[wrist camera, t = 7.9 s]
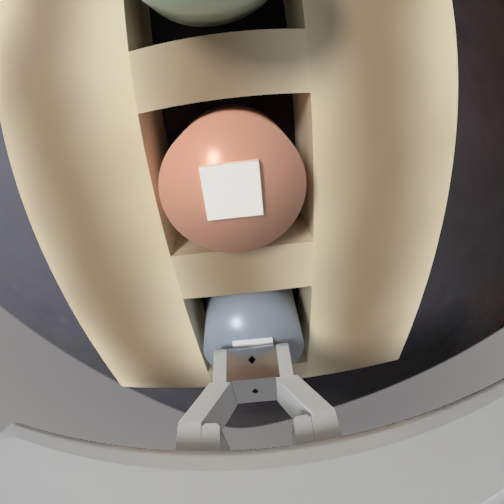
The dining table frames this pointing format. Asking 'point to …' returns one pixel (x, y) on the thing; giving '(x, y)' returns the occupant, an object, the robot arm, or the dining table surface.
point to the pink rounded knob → (232, 180)
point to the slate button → (252, 322)
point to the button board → (306, 142)
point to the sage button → (204, 10)
